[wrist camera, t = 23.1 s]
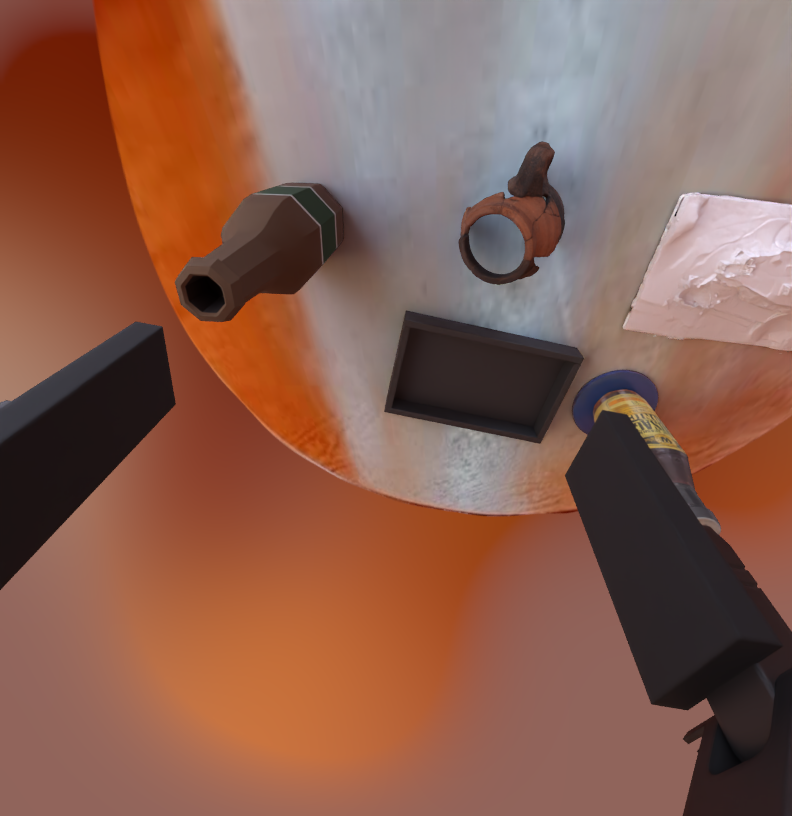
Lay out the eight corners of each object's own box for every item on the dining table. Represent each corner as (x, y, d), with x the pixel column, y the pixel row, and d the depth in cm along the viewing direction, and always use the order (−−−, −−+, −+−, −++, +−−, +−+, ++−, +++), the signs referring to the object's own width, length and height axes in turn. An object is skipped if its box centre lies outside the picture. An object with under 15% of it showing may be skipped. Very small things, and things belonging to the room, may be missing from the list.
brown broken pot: (556, 268, 44) (530, 305, 39) (475, 244, 47) (442, 276, 42) (601, 138, 35) (575, 166, 30) (497, 119, 38) (458, 141, 33)
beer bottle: (265, 240, 44) (126, 327, 24) (284, 163, 40) (136, 189, 20) (333, 272, 45) (256, 378, 25) (358, 200, 41) (290, 260, 21)
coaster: (593, 362, 49) (595, 364, 48) (672, 379, 49) (675, 381, 49) (559, 427, 54) (560, 430, 54) (630, 442, 55) (632, 445, 54)
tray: (406, 310, 47) (404, 319, 45) (577, 347, 48) (584, 358, 46) (386, 400, 54) (384, 412, 52) (535, 431, 55) (540, 443, 53)
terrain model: (656, 190, 40) (681, 196, 35) (925, 185, 37) (986, 191, 33) (612, 347, 49) (627, 367, 44) (826, 352, 46) (863, 373, 42)
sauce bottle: (651, 390, 50) (762, 516, 33) (628, 430, 53) (717, 562, 37) (599, 381, 49) (684, 503, 33) (579, 422, 53) (646, 551, 36)
